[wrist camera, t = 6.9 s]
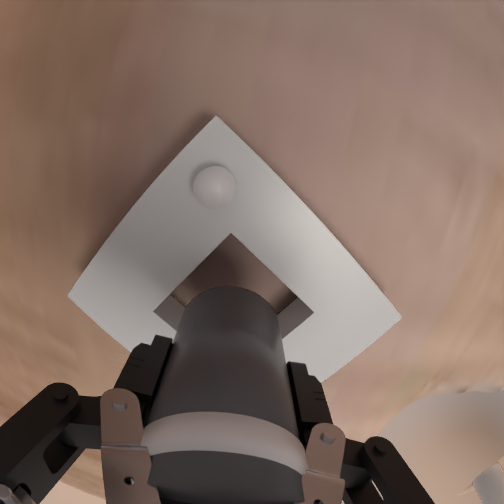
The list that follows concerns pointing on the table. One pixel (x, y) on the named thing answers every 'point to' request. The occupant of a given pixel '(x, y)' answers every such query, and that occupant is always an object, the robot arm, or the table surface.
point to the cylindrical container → (490, 485)
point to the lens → (226, 407)
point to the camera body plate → (251, 236)
